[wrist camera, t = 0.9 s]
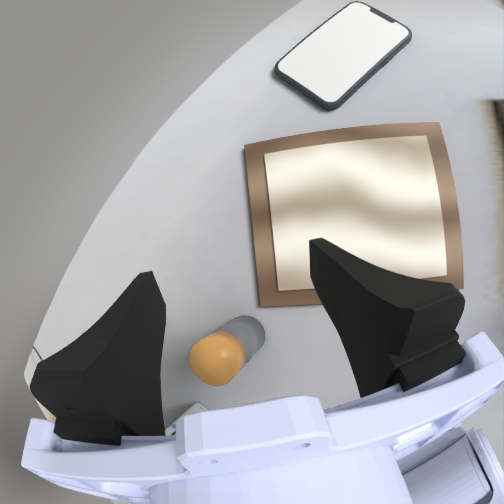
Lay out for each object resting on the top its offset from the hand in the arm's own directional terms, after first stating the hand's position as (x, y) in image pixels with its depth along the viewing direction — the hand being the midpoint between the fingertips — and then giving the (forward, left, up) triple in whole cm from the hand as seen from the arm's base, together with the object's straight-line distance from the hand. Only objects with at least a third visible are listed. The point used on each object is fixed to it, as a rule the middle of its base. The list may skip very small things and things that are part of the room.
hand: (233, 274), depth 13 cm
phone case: (+22, -9, -15) cm, 28 cm away
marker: (-7, +6, -15) cm, 17 cm away
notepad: (+4, -6, -14) cm, 16 cm away
